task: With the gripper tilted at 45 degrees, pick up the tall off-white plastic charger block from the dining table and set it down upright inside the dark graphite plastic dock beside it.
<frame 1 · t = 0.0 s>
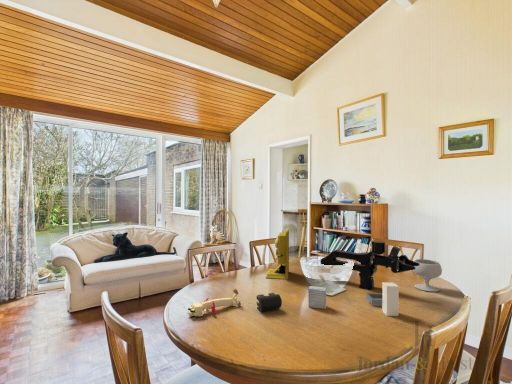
hand: (417, 266, 142), 17 cm above the table, tool horizontal, fingers open, 9 cm apart
chalice: (426, 288, 157), on the table
medicine box: (317, 307, 132), on the table
dock tray: (378, 302, 137), on the table
cat figure: (214, 311, 127), on the table
end cap: (268, 310, 128), on the table
charger block: (390, 313, 125), on the table
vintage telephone: (277, 274, 182), on the table
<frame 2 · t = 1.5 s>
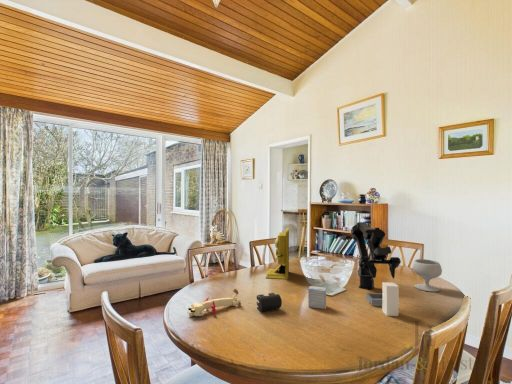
hand: (383, 277, 133), 13 cm above the table, tool tilted 45°, fingers open, 9 cm apart
nothing on the table moved.
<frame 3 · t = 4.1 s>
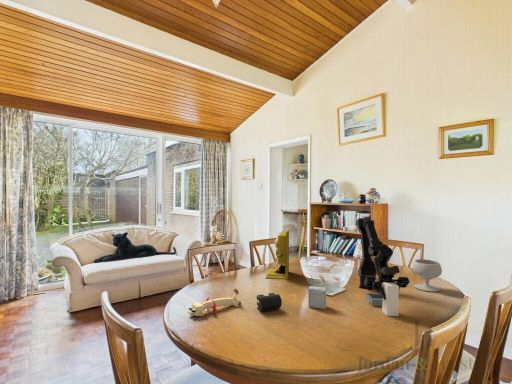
hand: (391, 299, 123), 7 cm above the table, tool tilted 45°, fingers closed on charger block, 5 cm apart
charger block: (390, 313, 125), on the table, touching gripper
everything else where it was.
when the fingers open (9 cm above the table, at t = 7.9 s): charger block drops 1 cm, resting on dock tray.
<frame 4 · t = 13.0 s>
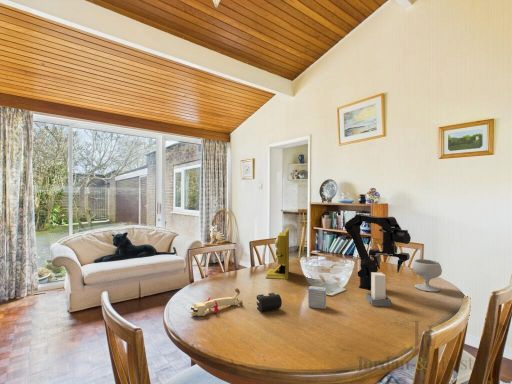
hand: (388, 270, 146), 13 cm above the table, tool pointing down, fingers open, 9 cm apart
charger block: (378, 300, 137), point 1 cm above the table, touching dock tray
at the end: charger block 0.1 cm off-centre on the dock tray, point 1.0 cm above the dock tray's base; charger block tilted 0°; the gripper is holding nothing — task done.
